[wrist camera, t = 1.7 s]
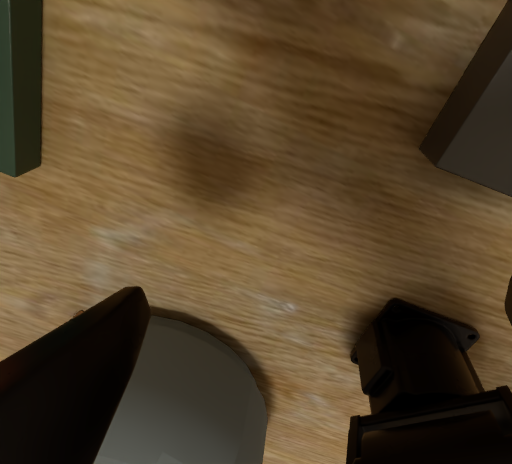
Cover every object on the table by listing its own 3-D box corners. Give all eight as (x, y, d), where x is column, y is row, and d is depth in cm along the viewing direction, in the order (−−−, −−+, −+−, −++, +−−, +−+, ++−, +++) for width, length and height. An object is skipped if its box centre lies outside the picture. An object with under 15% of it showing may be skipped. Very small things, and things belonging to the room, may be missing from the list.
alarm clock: (31, 292, 28) (-135, 440, 18) (273, 318, 26) (245, 508, 15) (86, 429, 38) (-2, 579, 27) (267, 458, 35) (248, 635, 25)
